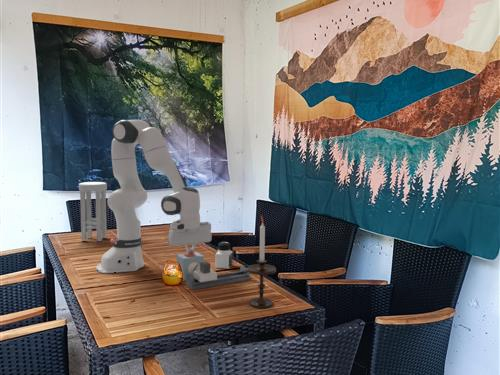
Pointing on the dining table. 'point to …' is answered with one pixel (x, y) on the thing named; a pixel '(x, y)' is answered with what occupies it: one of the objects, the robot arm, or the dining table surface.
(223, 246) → the medicine bottle
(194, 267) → the gauge cabinet
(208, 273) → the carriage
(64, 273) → the dining table surface
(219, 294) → the dining table surface
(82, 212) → the stool
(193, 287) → the rail
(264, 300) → the candlestick
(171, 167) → the robot arm
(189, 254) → the button
